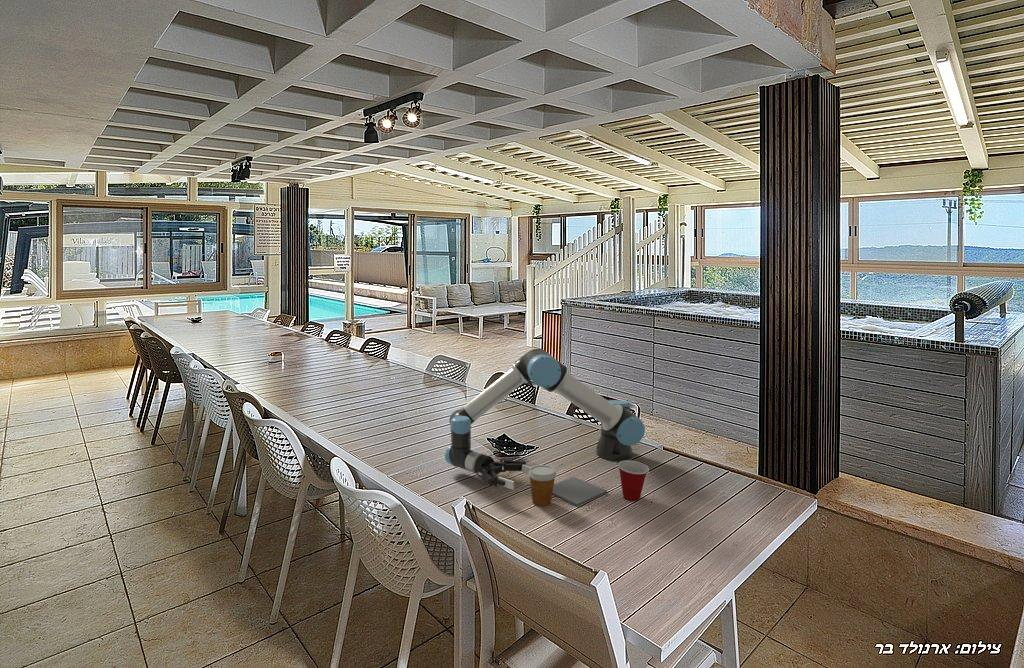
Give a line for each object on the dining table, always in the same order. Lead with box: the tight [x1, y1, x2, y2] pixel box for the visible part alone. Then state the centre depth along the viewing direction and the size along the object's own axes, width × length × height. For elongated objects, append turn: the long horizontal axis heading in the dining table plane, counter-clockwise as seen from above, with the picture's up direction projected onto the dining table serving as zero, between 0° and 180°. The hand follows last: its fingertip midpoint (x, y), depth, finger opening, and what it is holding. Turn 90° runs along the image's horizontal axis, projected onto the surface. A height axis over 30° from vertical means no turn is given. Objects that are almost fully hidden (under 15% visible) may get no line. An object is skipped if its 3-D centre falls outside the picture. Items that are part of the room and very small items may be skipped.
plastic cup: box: [617, 459, 650, 502], centre depth 200 cm, size 11×11×12 cm
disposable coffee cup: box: [527, 464, 557, 508], centre depth 195 cm, size 10×10×12 cm
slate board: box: [552, 476, 608, 507], centre depth 205 cm, size 16×16×1 cm
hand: (525, 479), depth 199 cm, fingers open, 13 cm apart
